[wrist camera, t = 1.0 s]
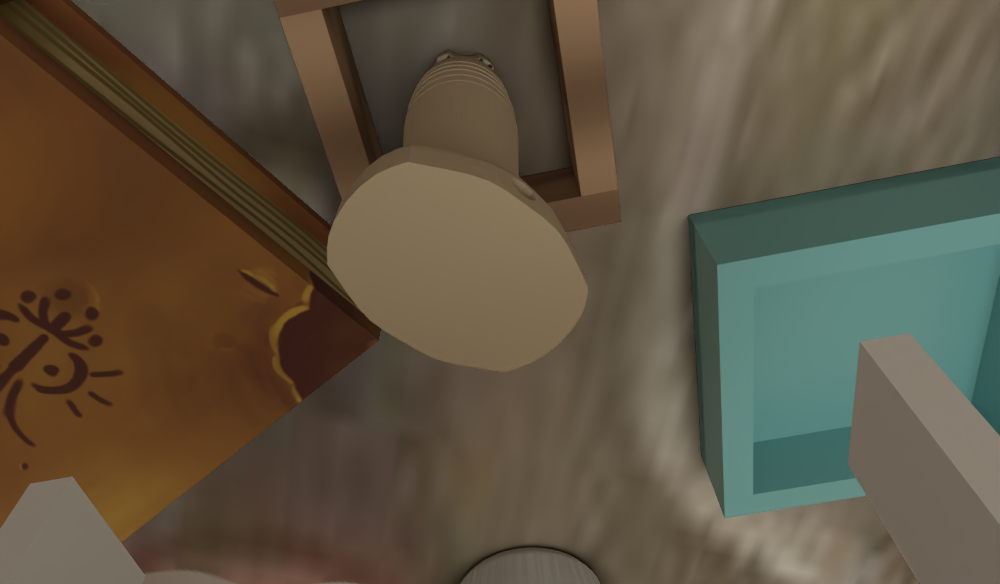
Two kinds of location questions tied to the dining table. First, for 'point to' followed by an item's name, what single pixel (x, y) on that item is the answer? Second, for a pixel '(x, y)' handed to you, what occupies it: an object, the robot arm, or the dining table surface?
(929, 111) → the dining table surface
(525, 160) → the dining table surface
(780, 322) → the parts tray
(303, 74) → the socket
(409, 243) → the handle
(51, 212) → the diary
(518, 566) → the ramekin
